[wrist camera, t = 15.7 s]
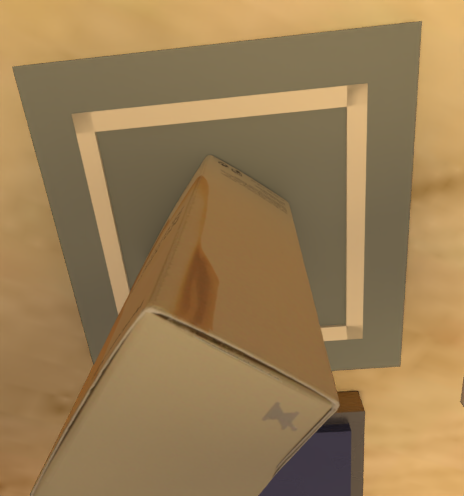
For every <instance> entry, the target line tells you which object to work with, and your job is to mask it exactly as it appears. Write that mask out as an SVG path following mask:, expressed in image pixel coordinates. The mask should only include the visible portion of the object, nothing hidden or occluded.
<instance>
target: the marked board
mask: <svg viewBox="0 0 464 496" xmlns="http://www.w3.org/2000/svg"><path fill="white" fill-rule="evenodd" d="M421 26H422V21H419V22H410V23H401V24H392V25H383V26H374V27H365V28H356V29H347V30H338V31H329V32H320V33H311V34H302V35H293V36H284V37H275V38H266V39H257V40H248V41H239V42H230V43H221V44H212V45H203V46H194V47H185V48H176V49H167V50H158V51H149V52H140V53H131V54H122V55H113V56H104V57H95V58H86V59H77V60H68V61H59V62H50V63H41V64H32V65H23V66H14V67H12V68H13V72H14V76H15V79H16V83H17V87H18V90H19V94H20V98H21V101H22V105H23V109H24V112H25V116H26V120H27V123H28V127H29V130H30V134H31V138H32V141H33V145H34V149H35V152H36V156H37V160H38V163H39V167H40V171H41V174H42V178H43V182H44V185H45V189H46V193H47V196H48V200H49V204H50V207H51V211H52V215H53V218H54V222H55V226H56V229H57V233H58V237H59V240H60V244H61V248H62V251H63V255H64V259H65V262H66V266H67V270H68V273H69V277H70V281H71V284H72V288H73V292H74V295H75V299H76V303H77V306H78V310H79V313H80V317H81V321H82V324H83V328H84V332H85V335H86V339H87V343H88V346H89V350H90V354H91V357H92V361H93V365H94V364H95V362H96V360H97V358H98V356H99V354H100V352H101V350H102V348H103V346H104V344H105V342H106V339H107V337H108V335H109V333H110V331H111V329H112V327H113V325H114V323H115V321H116V319H117V317H118V315H119V313H120V311H121V309H122V307H123V305H124V303H125V301H126V299H127V297H128V295H129V293H130V291H131V288H132V286H133V284H134V282H135V280H136V278H137V276H138V274H139V272H140V270H141V268H142V266H143V264H144V262H145V260H146V258H147V256H148V254H149V253H150V251H151V249H152V247H153V245H154V243H155V241H156V239H157V237H158V236H159V234H160V232H161V230H162V228H163V226H164V224H165V223H166V221H167V219H168V217H169V215H170V214H171V212H172V210H173V208H174V207H175V205H176V203H177V202H178V200H179V198H180V197H181V195H182V193H183V192H184V190H185V189H186V187H187V185H188V184H189V182H190V181H191V179H192V177H193V176H194V174H195V173H196V171H197V170H198V168H199V167H200V165H201V163H202V162H203V160H204V159H205V157H206V156H208V155H212V156H214V157H216V158H218V159H220V160H221V161H223V162H225V163H227V164H229V165H230V166H232V167H234V168H236V169H237V170H239V171H241V172H242V173H244V174H246V175H247V176H249V177H250V178H252V179H254V180H255V181H257V182H258V183H260V184H261V185H263V186H265V187H266V188H268V189H269V190H271V191H272V192H274V193H275V194H277V195H278V196H280V197H281V198H283V199H284V200H286V201H287V202H288V203H289V205H290V209H291V213H292V217H293V221H294V225H295V229H296V233H297V237H298V241H299V245H300V249H301V253H302V257H303V261H304V265H305V269H306V273H307V277H308V280H309V284H310V288H311V292H312V296H313V300H314V304H315V308H316V312H317V315H318V321H319V324H320V328H321V332H322V336H323V340H324V344H325V348H326V351H327V355H328V359H329V363H330V367H331V371H336V370H352V369H368V368H384V367H400V364H401V348H402V332H403V315H404V299H405V283H406V267H407V251H408V235H409V219H410V203H411V187H412V171H413V155H414V139H415V122H416V106H417V90H418V74H419V58H420V42H421Z"/></svg>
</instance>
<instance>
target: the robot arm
mask: <svg viewBox="0 0 464 496" xmlns="http://www.w3.org/2000/svg"><path fill="white" fill-rule="evenodd" d="M460 402H461V404H462V405H463V407H464V379H463V386H462V394H461V401H460Z"/></svg>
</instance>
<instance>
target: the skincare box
mask: <svg viewBox="0 0 464 496" xmlns="http://www.w3.org/2000/svg"><path fill="white" fill-rule="evenodd" d="M339 406H340V405H339V399H338V394H337V391H336V387H335V382H334V379H333V375H332V371H331V367H330V363H329V359H328V355H327V351H326V348H325V344H324V340H323V336H322V332H321V328H320V324H319V321H318V315H317V312H316V308H315V304H314V300H313V296H312V292H311V288H310V284H309V280H308V277H307V273H306V269H305V265H304V261H303V257H302V253H301V249H300V245H299V241H298V237H297V233H296V229H295V225H294V221H293V217H292V213H291V209H290V205H289V203H288V202H287V201H286V200H284V199H283V198H281V197H280V196H278V195H277V194H275V193H274V192H272V191H271V190H269V189H268V188H266V187H265V186H263V185H261V184H260V183H258V182H257V181H255V180H254V179H252V178H250V177H249V176H247V175H246V174H244V173H242V172H241V171H239V170H237V169H236V168H234V167H232V166H230V165H229V164H227V163H225V162H223V161H221V160H220V159H218V158H216V157H214V156H212V155H208V156H206V157H205V159H204V160H203V162H202V163H201V165H200V167H199V168H198V170H197V171H196V173H195V174H194V176H193V177H192V179H191V181H190V182H189V184H188V185H187V187H186V189H185V190H184V192H183V193H182V195H181V197H180V198H179V200H178V202H177V203H176V205H175V207H174V208H173V210H172V212H171V214H170V215H169V217H168V219H167V221H166V223H165V224H164V226H163V228H162V230H161V232H160V234H159V236H158V237H157V239H156V241H155V243H154V245H153V247H152V249H151V251H150V253H149V254H148V256H147V258H146V260H145V262H144V264H143V266H142V268H141V270H140V272H139V274H138V276H137V278H136V280H135V282H134V284H133V286H132V288H131V291H130V293H129V295H128V297H127V299H126V301H125V303H124V305H123V307H122V309H121V311H120V313H119V315H118V317H117V319H116V321H115V323H114V325H113V327H112V329H111V331H110V333H109V335H108V337H107V339H106V342H105V344H104V346H103V348H102V350H101V352H100V354H99V356H98V358H97V360H96V362H95V364H94V365H93V367H92V369H91V371H90V373H89V376H88V378H87V380H86V382H85V384H84V386H83V388H82V390H81V392H80V394H79V396H78V398H77V400H76V402H75V404H74V406H73V408H72V410H71V412H70V414H69V416H68V418H67V420H66V422H65V424H64V426H63V428H62V430H61V432H60V434H59V436H58V438H57V440H56V442H55V444H54V446H53V448H52V450H51V452H50V454H49V456H48V458H47V460H46V462H45V464H44V467H43V469H42V471H41V473H40V475H39V477H38V479H37V481H36V483H35V485H34V487H33V489H32V491H31V493H30V496H258V495H259V494H260V493H261V492H262V491H263V489H264V488H265V487H266V486H267V485H268V483H269V482H270V481H271V480H272V478H273V477H274V476H275V475H276V474H277V472H278V471H279V470H280V469H281V468H282V467H283V466H284V465H285V464H286V463H287V462H288V461H289V460H290V459H291V458H292V457H293V456H294V455H295V453H296V452H297V451H298V450H299V449H300V448H301V447H302V446H303V445H304V444H305V443H306V442H307V441H308V439H309V438H310V437H311V436H312V435H313V434H314V433H315V432H316V431H317V430H318V429H319V428H320V427H321V426H322V425H323V424H324V423H325V422H326V420H327V419H329V418H330V417H331V416H332V415H333V414H334V413H335V412H336V411H337V409H338V408H339Z"/></svg>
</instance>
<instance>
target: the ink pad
mask: <svg viewBox="0 0 464 496" xmlns="http://www.w3.org/2000/svg"><path fill="white" fill-rule="evenodd" d="M337 394H338V399H339V405H340V406H339V408H338V409H337V411H336V412H335V413H334V414H333V415H332V416H331V417H330V418H329V419H327V420H326V422H325V423H324V424H323V425H322V426H321V427H320V428H319V429H318V430H317V431H316V432H315V433H314V434H313V435H312V436H311V437H310V438H309V439H308V441H307V442H306V443H305V444H304V445H303V446H302V447H301V448H300V449H299V450H298V451H297V452H296V453H295V455H294V456H293V457H292V458H291V459H290V460H289V461H288V462H287V463H286V464H285V465H284V466H283V467H282V468H281V469H280V470H279V471H278V472H277V474H276V475H275V476H274V477H273V478H272V480H271V481H270V482H269V483H268V485H267V486H266V487H265V488H264V489H263V491H262V492H261V493H260V494H259V495H258V496H363V465H364V424H365V410H364V407H363V405H362V402H361V399H360V396H359V393H358V391H354V392H337Z"/></svg>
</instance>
